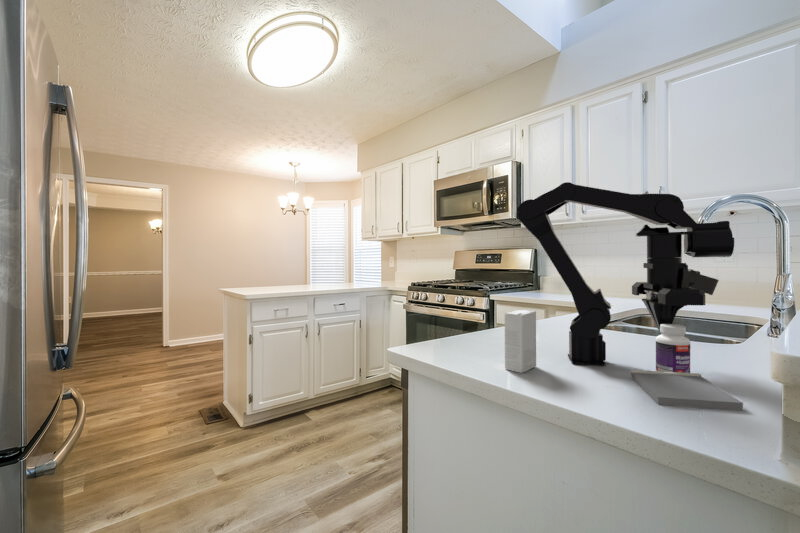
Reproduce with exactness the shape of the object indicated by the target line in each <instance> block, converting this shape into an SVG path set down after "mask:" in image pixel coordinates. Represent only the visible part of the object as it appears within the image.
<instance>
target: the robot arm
mask: <svg viewBox="0 0 800 533" xmlns="http://www.w3.org/2000/svg"><path fill="white" fill-rule="evenodd" d="M568 203H573V204H579V205H584V206H589V207H594V208H599V209H604V210H610V211H614V212H620V213H624V214H627V215H629V216H632V217H634V218H637V219H640V220H642V221H645V222H648V223H651V224H653V225H656V226H663V227H650V226H649V224H644V225H643V226H642V228H641V229H640V230H639V231H638V232H636V233H635V237H646V262H644V263H643V268H644V269H646V281H635V283H634V284H632V285H631V295H634V296H640V295H645V298H641V302H643V303H644V306H645V307H646V309H647V311H648V313H649V316H651V318H652V320H653V322H654V324H655V326H656V328H657V330H658V332H659V333H660V334H659V335H661V332H660V325H661V324H674V320H675V317H676V315H677V313H678V311H679V310H681V309H682V308H684V307H687V306H706V294H708V295H709V296H713V295H714V292H715V290H716V288H717V285H718V283H719V280H720V279H717V278H714V277H710V276H708V275H704V274H701V272H700V271H698V270H694V269H692V268H691V269H690V268H689V264H687V262H683V260H682V258H683V257H682V255H683V252H682V251H683V249H684V252H685V253H690V255H691V258H727V257H728V258H730V257H732V255H733V254H734V250H735V238H734V237H733V231H732V228H731V227H730V226H731V225H730V221H729V220H720V221H716V222H702V223H701V222H700V223H697V221H695V219H693V218H692V216H690V214H688V213H687V212H686V211H685V210H684V209H685V206H684V202H683V201H682V199H681V198H680V196H677V195H674V194H671V193H626V192H620V191H615V190H608V189H602V188H599V187H592V186H586V185H585V186H584V185H579V184H576V183H575V184H574V183H572V182H569V181H567V182H562V183H561V184H560V185H558V186H557V187H555V188H553V189H551V190H550V191H546V192H544V193H543V194H541V195H539V196H537V197H536V198H534V199H532V198H531V199H526V200H524V201H522V202H521V203H520V204H519V206H518V207H517V209H516V217H517V219H518V220H519V221H520V223H521V224H522V226H524V227H525V228H526V229H527V230H528V232H530V233H531V235H532V236H534V238H535V239H536V240H538V242H539V243H540V245H541V246H542V248H543V250H544V251H545V253H546V255H547V257H548V258H549V260H550V261H551V264H553V266H554V267H555V270H556V271H557V273H558V274H559V276H560V277H561V279H562V281H563V282H564V284H565V286H566V287H567V289H568V290H569V292H570V294H571V296H572V297H571V298H572V299H573V303H574V305H575V308H576V310H577V314H578V315H576V317H574V318H572V320H571V323H570V325H569V330H570V331H568V346H569V347H568V350H569V351H568V353H569V354H568V353H567V358H568V359H569V361H570V363H571V364H572V365H591V366H606V359H607V358H606V354H607V351H606V348H607V346H606V345H607V343H606V341H605V340H603V338H604V337H603V336H604V335H603V334H602V333H601V330H604V329H605V328H607V327H608V326H609V324H610V322H611V319H612V315H611V310H612V306H611V302H609V301H607V300H606V298H605V297H604V294H603V292H602V290H601V288H598V289H596V290H595V291H594V289H592V288H591V287H590V286H589V285H588V284H587V282H586V280H585V278H584V277H583V276H582V274H581V272H580V271H579V270H578V267H577V266H576V264H575V263H574V261H573V260H572V258H571V257H570V255H569V253H568V252H567V249H565V247H564V245H563V244H562V242H561V240H560V239H559V237H558V236H557V235H556V233H555V231H554V227H553V224H552V222H551V219H550V215H551V214H553V213H554V212H556V211H558V210H559V209H560V208H562V207H563V206H565V205H566V204H568ZM665 225H666V226H669V227H670V228H673V229H676V230H686V231H670V230H669V227H666V226H665ZM664 226H665V227H664ZM682 236H683V238H682ZM682 239H683V240H682ZM682 241H683V243H682ZM682 244H683V247H682ZM682 248H683V249H682ZM610 309H611V310H610Z"/></svg>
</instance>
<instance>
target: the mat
mask: <svg viewBox="0 0 800 533" xmlns="http://www.w3.org/2000/svg"><path fill="white" fill-rule="evenodd" d="M630 378H631V380H633V381H634V383H636V384H637V385H638V387H640V388H641V389H642V390H643V391H644V392H645V394H647V395H648V397H650V398H651V399H652V400H653V401H654V402H655V403H656V404H657V405H659V406H672V407H674V406H675V407H683V408H684V407H685V408H699V409H714V410H715V409H716V410H727V411H738V410H740V411H741V412H743V411H744V409H743V408H744V403H743V402H742V401H740V400H739V399H737V398H736V397H734V396H732V394H729V393H728V392H726V391H725V390H723V389H721V387H719V386H717V385H715V384H714V383H712V382H710V381H709V380H708V379H706V378H704V377H702V374H701V373H698V372H697V373H696V372H690V373H680V372H661V371H656V370H641V369H640V370H639V369H638V370H637V369H631V370H630ZM740 411H739V412H740Z"/></svg>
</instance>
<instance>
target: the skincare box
mask: <svg viewBox="0 0 800 533" xmlns="http://www.w3.org/2000/svg"><path fill="white" fill-rule="evenodd" d="M536 366H537V311H535V310H525V309H517V310H513V311H509V312H505V313H504V369H505V370H507V371H510V370H511V372H514V371H515V372H516V373H519V374H523V373H525V372H527V371H530V370H531V369H534V368H535V367H536Z"/></svg>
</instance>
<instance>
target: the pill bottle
mask: <svg viewBox="0 0 800 533" xmlns="http://www.w3.org/2000/svg"><path fill="white" fill-rule="evenodd" d="M686 328H687V327H686V326H685V325H682V324H676V323H672V324H661V325H660V332H661V334H659V335H657V336H656V338H655V371H661V372H680V373H691V340H690V339H689V338H688V337H686V336H685V335H686V332H687V329H686ZM660 332H659V333H660Z"/></svg>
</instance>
